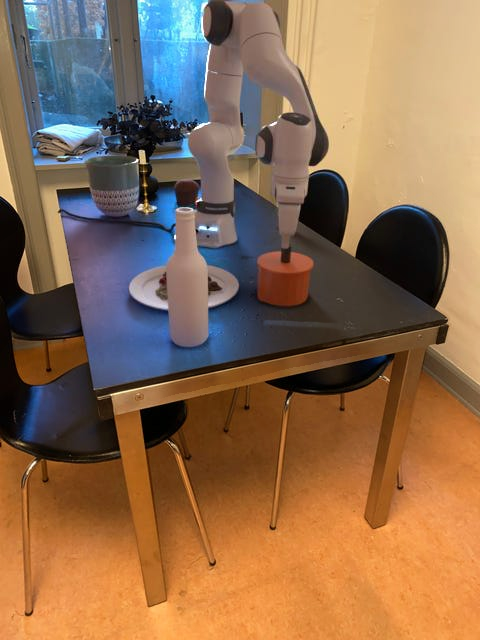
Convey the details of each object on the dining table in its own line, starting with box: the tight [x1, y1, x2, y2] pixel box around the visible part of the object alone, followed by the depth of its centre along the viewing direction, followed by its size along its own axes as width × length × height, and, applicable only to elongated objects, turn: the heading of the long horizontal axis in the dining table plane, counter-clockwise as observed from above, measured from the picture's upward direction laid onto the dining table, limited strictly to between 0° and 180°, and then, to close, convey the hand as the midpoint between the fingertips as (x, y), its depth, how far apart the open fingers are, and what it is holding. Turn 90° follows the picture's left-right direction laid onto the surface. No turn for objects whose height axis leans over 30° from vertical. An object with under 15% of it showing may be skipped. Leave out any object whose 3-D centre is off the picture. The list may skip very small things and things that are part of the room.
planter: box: [84, 155, 140, 218], centre depth 184 cm, size 20×20×21 cm
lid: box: [256, 243, 315, 275], centre depth 122 cm, size 15×15×6 cm
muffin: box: [172, 178, 201, 206], centre depth 205 cm, size 12×11×10 cm
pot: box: [256, 266, 311, 307], centre depth 125 cm, size 14×14×10 cm
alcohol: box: [166, 206, 209, 348], centre depth 100 cm, size 9×9×30 cm
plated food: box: [128, 264, 240, 311], centre depth 128 cm, size 30×30×3 cm
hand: (284, 240), depth 120 cm, fingers open, 8 cm apart
